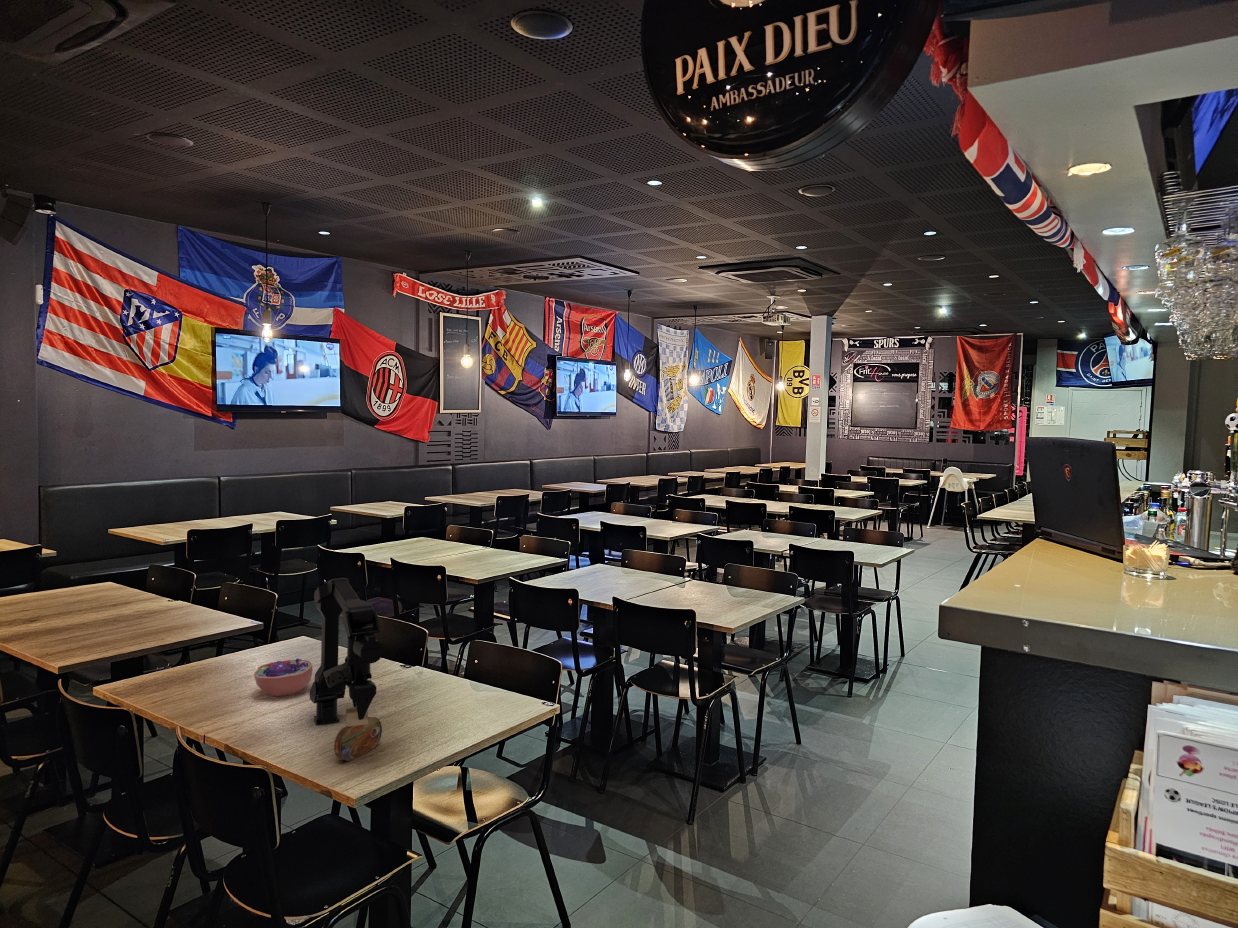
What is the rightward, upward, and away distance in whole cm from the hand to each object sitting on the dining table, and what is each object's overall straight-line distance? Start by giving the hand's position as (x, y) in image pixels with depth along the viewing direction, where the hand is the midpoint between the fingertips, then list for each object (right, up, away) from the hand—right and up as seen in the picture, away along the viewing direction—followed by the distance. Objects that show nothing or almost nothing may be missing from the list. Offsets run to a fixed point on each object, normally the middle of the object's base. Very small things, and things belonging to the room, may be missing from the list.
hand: (358, 713), depth 192 cm
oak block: (0, -2, 0) cm, 2 cm away
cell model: (-40, -9, +45) cm, 61 cm away
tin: (0, -11, 0) cm, 11 cm away
